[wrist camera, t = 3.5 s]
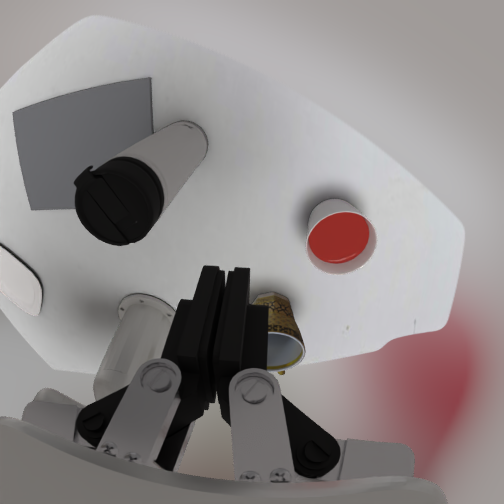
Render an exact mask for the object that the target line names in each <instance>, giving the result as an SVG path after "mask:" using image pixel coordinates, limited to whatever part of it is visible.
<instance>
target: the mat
mask: <svg viewBox="0 0 504 504" xmlns="http://www.w3.org/2000/svg"><path fill="white" fill-rule="evenodd" d="M13 122H14V130H15V137H16V144H17V150H18V155H19V161H20V166H21V171H22V175H23V180H24V184H25V188H26V192H27V196H28V200H29V204H30V207H31V210H53V209H75V192H76V189H77V188H76V186H75V185H74V181H75V179H76V178H77V177H78V176H79V175H80V174H81V173H82V172H83V171H84V170H85V169H86V168H87V167H89V166H93V168H92V169H91V170H90V171H94V170H96V169H97V168H98V167H100V166H101V165H103V164H104V163H105V162H106V161H108V160H109V159H111V158H112V157H114V156H116V155H117V154H119V153H121V152H122V151H124V150H126V149H127V148H129V147H131V146H132V145H134V144H136V143H138V142H139V141H141V140H143V139H145V138H147V137H148V136H150V135H152V134H154V133H153V116H152V92H151V78H144V79H137V80H131V81H125V82H119V83H114V84H109V85H104V86H99V87H94V88H90V89H86V90H82V91H78V92H74V93H70V94H67V95H63V96H60V97H56V98H53V99H50V100H46V101H43V102H40V103H37V104H34V105H31V106H29V107H26V108H23V109H20V110H18V111H15V112H13Z"/></svg>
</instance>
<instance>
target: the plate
mask: <svg viewBox="0 0 504 504" xmlns="http://www.w3.org/2000/svg"><path fill="white" fill-rule="evenodd" d="M0 291H1V292H2V293H3V294H4V295H5V296H6V297H7V298H8V299H9V300H11V301H12V302H13V303H14V304H15V305H17V306H18V307H19V308H21V309H22V310H23V311H25V312H26V313H28V314H30V315H33V316H37V315H39V312H40V310H41V303H42V288H41V285H40V282H39V280H38V279H37V277H36V276H35V275H34V273H33V272H32V271H31V270H30V269H29V268H28V267H26V266H25V265H24V264H23V263H22V262H21V261H20V260H18V259H17V258H16V257H15V256H14V255H12V254H11V253H10V252H9V251H8V250H6V249H5V248H3V247H2V246H1V245H0Z"/></svg>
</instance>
